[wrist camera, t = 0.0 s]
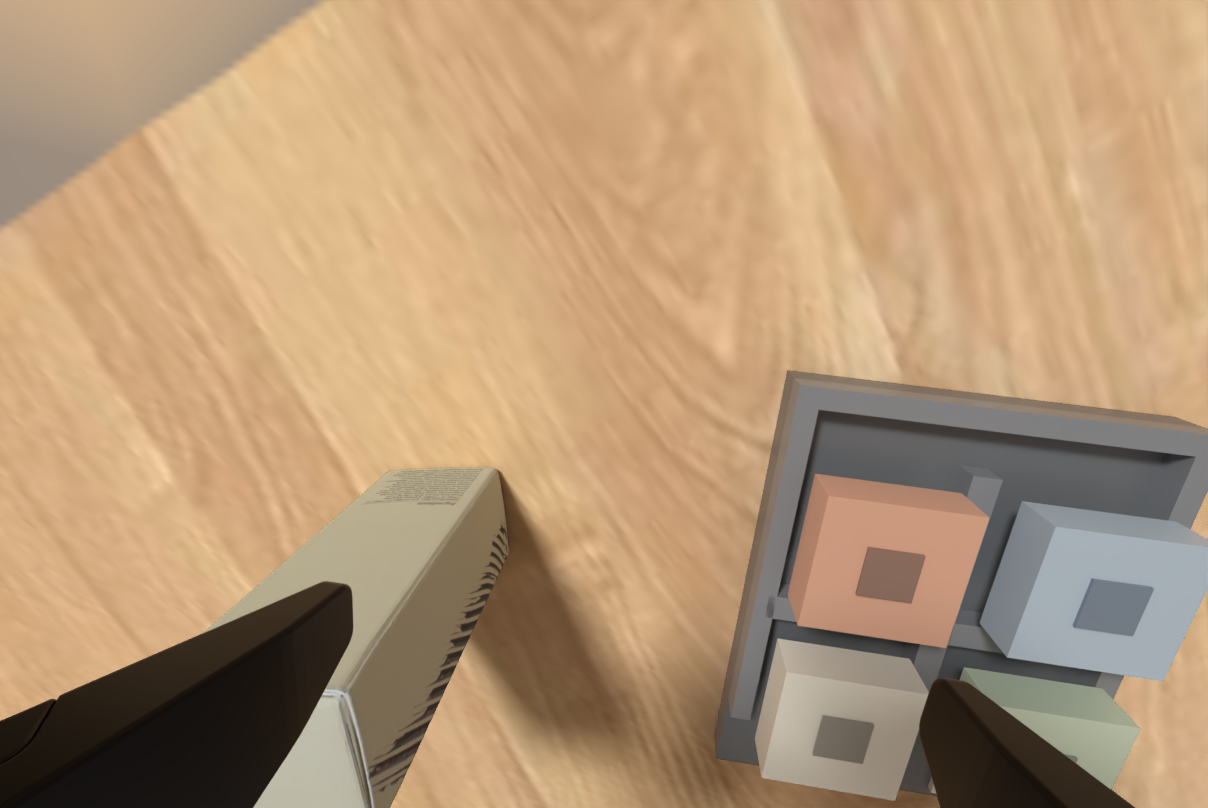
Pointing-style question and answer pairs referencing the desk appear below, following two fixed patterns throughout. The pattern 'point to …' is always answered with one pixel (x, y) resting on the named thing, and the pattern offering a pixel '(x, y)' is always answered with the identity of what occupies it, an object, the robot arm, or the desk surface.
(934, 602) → the key terracotta
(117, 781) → the robot arm
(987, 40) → the desk surface
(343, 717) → the box
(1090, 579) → the key slate
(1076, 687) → the key sage
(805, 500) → the grey compartment tray
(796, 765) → the key ivory
